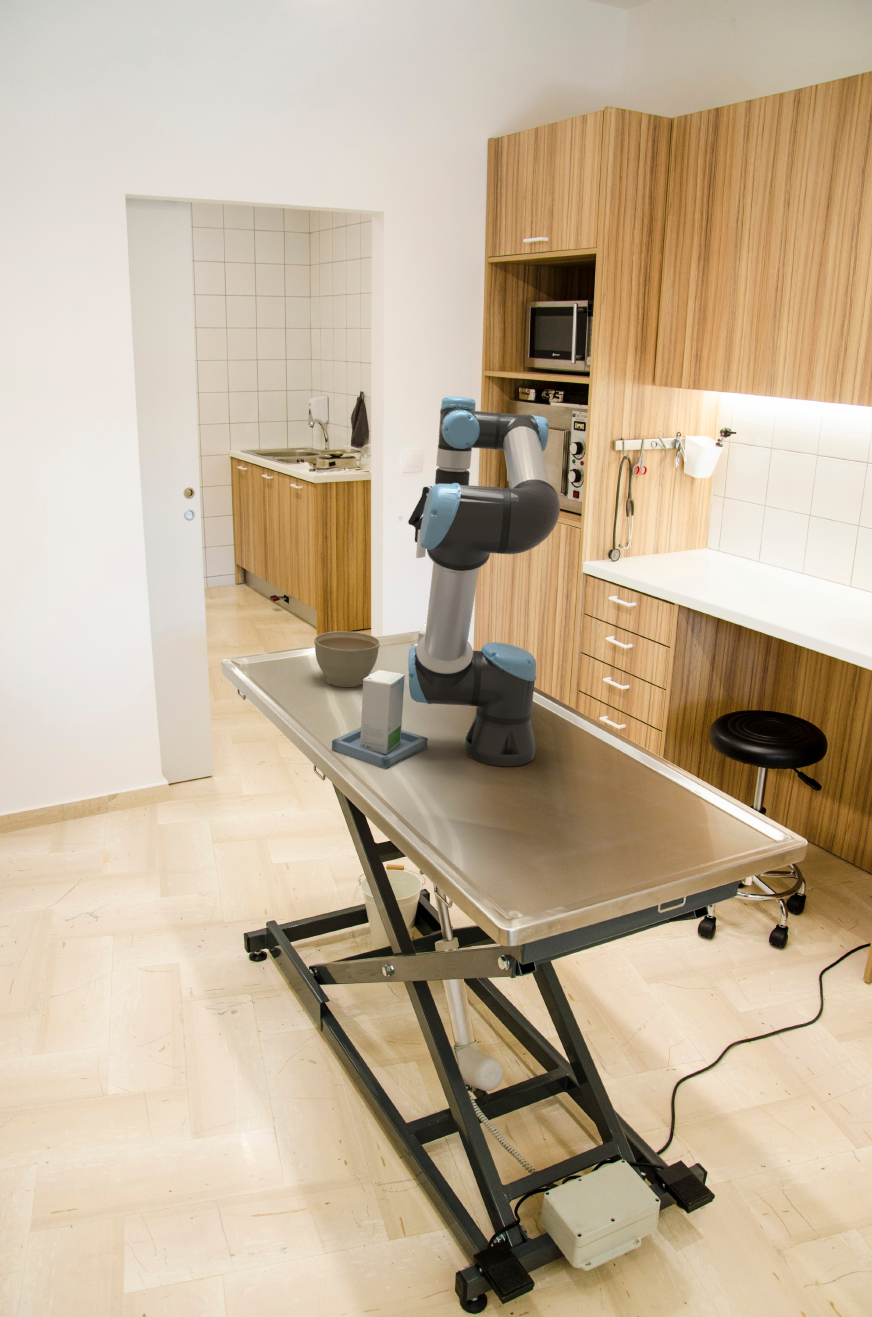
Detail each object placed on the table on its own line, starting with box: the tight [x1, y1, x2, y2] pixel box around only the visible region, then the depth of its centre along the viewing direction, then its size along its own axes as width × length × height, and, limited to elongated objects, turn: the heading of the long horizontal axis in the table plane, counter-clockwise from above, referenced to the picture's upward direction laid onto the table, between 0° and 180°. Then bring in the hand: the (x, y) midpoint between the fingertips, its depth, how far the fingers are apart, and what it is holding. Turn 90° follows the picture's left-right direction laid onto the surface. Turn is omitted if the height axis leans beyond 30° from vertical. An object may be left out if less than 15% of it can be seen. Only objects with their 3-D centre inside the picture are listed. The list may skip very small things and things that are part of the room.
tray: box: [331, 727, 429, 770], centre depth 208 cm, size 14×15×2 cm
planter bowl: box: [313, 630, 381, 688], centre depth 245 cm, size 16×16×11 cm
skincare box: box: [360, 669, 406, 754], centre depth 206 cm, size 8×7×16 cm
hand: (445, 562), depth 225 cm, fingers open, 13 cm apart
